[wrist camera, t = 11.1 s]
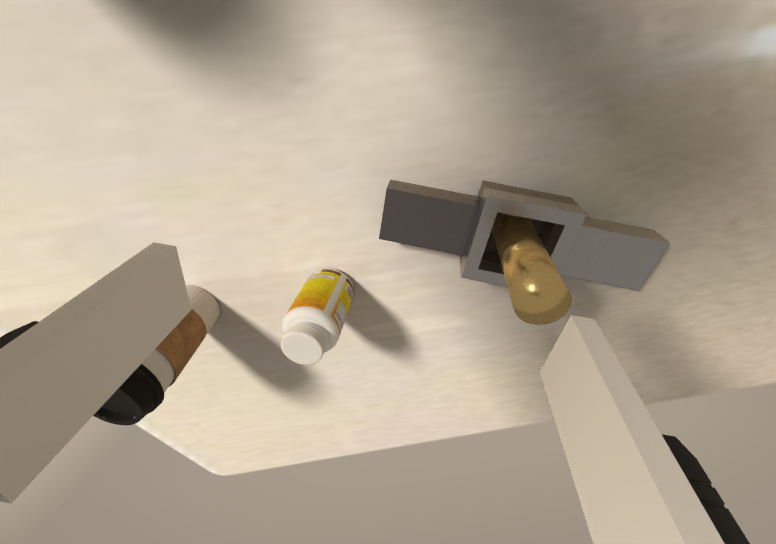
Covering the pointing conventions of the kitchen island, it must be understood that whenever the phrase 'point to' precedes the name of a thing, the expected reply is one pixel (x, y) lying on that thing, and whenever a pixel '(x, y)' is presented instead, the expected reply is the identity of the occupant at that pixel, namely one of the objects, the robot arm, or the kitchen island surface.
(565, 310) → the pin
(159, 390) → the coffee cup
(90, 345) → the robot arm
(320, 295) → the supplement bottle
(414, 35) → the kitchen island surface
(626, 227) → the grey plate with loop
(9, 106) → the kitchen island surface
